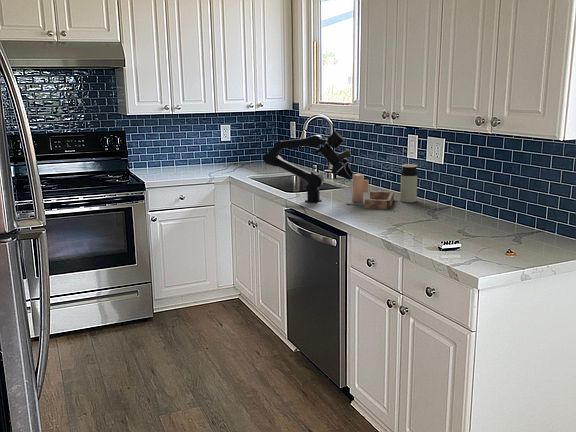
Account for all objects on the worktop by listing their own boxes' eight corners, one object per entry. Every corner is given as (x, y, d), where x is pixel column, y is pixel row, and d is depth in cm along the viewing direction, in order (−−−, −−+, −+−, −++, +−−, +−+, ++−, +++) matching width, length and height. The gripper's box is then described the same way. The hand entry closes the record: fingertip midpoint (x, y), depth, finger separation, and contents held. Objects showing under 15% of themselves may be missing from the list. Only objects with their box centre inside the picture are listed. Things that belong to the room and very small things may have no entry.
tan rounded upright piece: (351, 202, 278) (351, 175, 275) (352, 200, 284) (353, 173, 281) (367, 203, 276) (368, 176, 273) (368, 201, 282) (369, 174, 279)
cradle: (364, 208, 268) (364, 199, 267) (370, 198, 290) (370, 191, 289) (389, 209, 265) (390, 200, 265) (393, 199, 287) (393, 191, 286)
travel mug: (419, 202, 280) (420, 165, 276) (405, 203, 278) (406, 166, 274) (411, 199, 287) (412, 163, 283) (397, 200, 285) (398, 164, 281)
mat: (346, 204, 277) (346, 203, 277) (349, 200, 286) (349, 199, 286) (367, 205, 274) (367, 204, 274) (369, 201, 284) (369, 200, 284)
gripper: (338, 145, 267) (361, 169, 267) (344, 141, 285) (366, 164, 284) (322, 161, 271) (344, 185, 271) (329, 157, 288) (350, 179, 288)
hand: (352, 178), depth 278 cm, fingers open, 9 cm apart
